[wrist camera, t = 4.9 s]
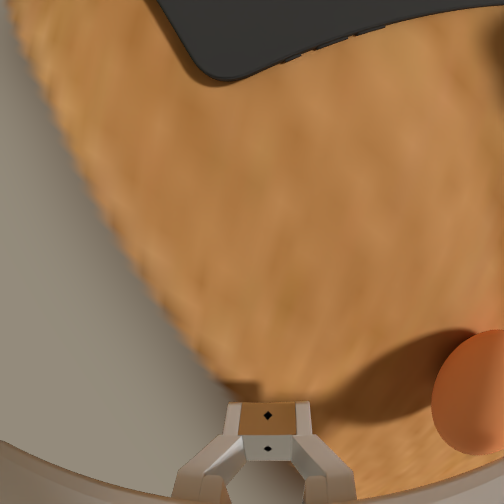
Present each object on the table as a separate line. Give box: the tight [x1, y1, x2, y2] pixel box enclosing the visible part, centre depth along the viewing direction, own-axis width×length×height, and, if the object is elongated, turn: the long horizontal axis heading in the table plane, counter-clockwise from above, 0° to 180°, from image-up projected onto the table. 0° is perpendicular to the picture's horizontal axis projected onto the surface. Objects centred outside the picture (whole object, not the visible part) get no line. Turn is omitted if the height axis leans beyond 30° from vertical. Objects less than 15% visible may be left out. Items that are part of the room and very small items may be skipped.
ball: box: [431, 330, 504, 455], centre depth 9 cm, size 5×5×5 cm
